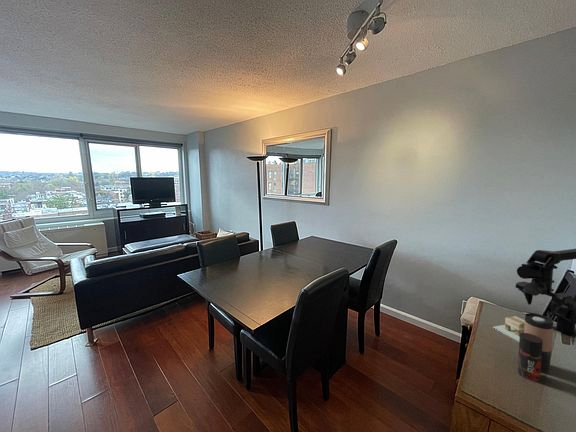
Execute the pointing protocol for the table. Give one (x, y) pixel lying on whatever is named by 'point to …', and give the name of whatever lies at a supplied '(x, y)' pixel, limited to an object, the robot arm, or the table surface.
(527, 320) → the travel mug
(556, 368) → the table surface
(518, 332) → the tan box with tabs
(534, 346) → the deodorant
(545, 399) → the table surface
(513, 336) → the board
